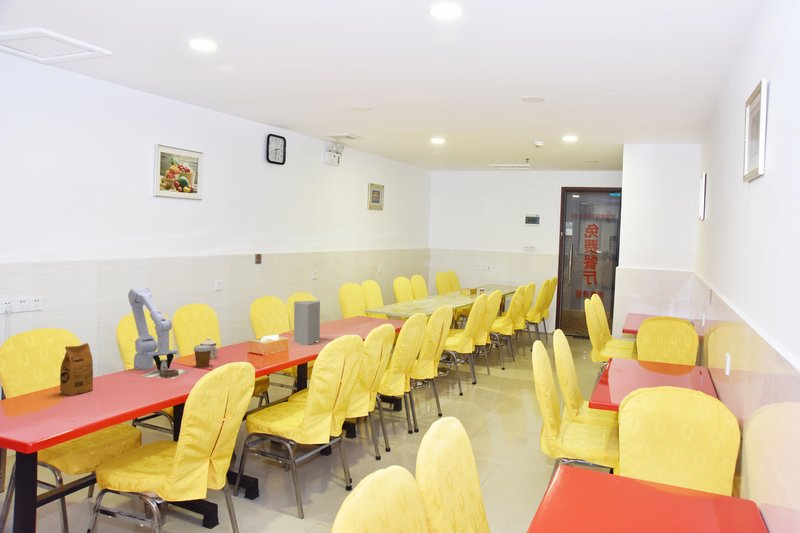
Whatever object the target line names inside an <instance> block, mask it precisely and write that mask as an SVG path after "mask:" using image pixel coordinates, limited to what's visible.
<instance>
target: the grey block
mask: <svg viewBox="0 0 800 533" xmlns="http://www.w3.org/2000/svg"><path fill="white" fill-rule="evenodd" d="M293 303H294V304H293V343H294V342H296V343H295V344H297V343H299V344H301V345H300V346H302V345H309V344H312V343H314V342H316V341H318V340H320V339H321V338H320V337H321V336H320V334H321V333H320V332H321V331H320V328H321V327H320V326H321V321H320V320H321V301H320V300H300V301H299V300H297V301H296V300H295V301H294V302H293ZM320 341H321V340H320ZM299 344H298V345H299ZM314 344H315V343H314ZM312 345H313V344H312ZM309 346H310V345H309Z"/></svg>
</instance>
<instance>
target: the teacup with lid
mask: <svg viewBox="0 0 800 533" xmlns="http://www.w3.org/2000/svg"><path fill="white" fill-rule="evenodd" d="M199 345H210V346H211V348H212V349H211V354H210V360H214V359H215V358H216V357H217V355H218V353H219V348H218V347H217V341H214V340H211V338H210V337H208V338H206V340H203V341H201V342H200V343H199Z"/></svg>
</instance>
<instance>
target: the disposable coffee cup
mask: <svg viewBox="0 0 800 533" xmlns="http://www.w3.org/2000/svg"><path fill="white" fill-rule="evenodd" d="M211 349H212V348H211V346H210V345H200V344H199V345H195V346H194V348H193V352H194V358H195V365H196V368H209V366H210V361H211V359H210V354H211Z"/></svg>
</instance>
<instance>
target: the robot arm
mask: <svg viewBox="0 0 800 533" xmlns="http://www.w3.org/2000/svg"><path fill="white" fill-rule="evenodd" d="M127 297H128V302H129V306H131V310H132V314H133V317H134V322H135V326H136V331H137V334H138V337H137V338H136V340H135V341H134V343H135V344H134V345H135V351H136V353H135V354H134V356H133V369H134V370H135V369H136V370H137V369H138V370H152V369H154V367H155V366H156V369H157V370H160V360H161V357H162V356H166V360H168V369H171V364H172V362H173V359H174V357H175V355H179V350H178V349H171V350H170V331H171V330H172V328H173V327H172V326H173V325H172V322H171V320H170V319H168V318H166V317H165V315H163V313H162V311H161V310H160V309H158V308H157V306H156V305H155V303H154V301H153V299H152V291H151V290H150V288H148V287H143V288H131V289H130V290H129V292H128V294H127ZM144 306H145V307H146V309H148V311H149V316H150V318H151V320H152V321H153V324H154V325H155V326H154V329H155V331H156V332H155V333H156V337H157V341H156V340H155V337H154V336H153V335H151V334H150V332H149V327H148V324H147V319H146V316H145V311H144Z"/></svg>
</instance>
